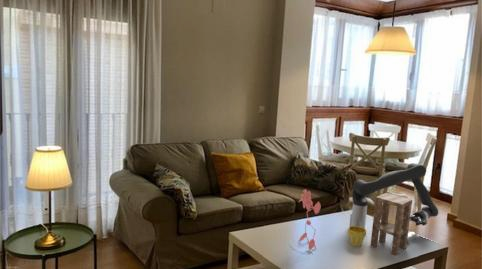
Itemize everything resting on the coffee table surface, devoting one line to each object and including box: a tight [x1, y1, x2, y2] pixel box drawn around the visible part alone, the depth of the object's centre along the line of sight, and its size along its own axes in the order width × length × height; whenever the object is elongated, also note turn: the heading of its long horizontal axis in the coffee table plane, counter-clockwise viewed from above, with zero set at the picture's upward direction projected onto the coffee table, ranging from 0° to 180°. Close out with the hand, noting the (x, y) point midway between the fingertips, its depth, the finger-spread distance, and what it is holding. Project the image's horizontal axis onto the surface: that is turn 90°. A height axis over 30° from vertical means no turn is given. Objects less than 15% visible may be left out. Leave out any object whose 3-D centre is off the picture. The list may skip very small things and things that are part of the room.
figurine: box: [298, 189, 322, 255], centre depth 228 cm, size 15×26×35 cm, turn 18°
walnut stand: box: [369, 192, 413, 256], centre depth 233 cm, size 16×14×31 cm
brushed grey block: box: [406, 231, 418, 246], centre depth 249 cm, size 20×6×3 cm, turn 135°
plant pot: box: [347, 226, 367, 247], centre depth 237 cm, size 10×10×10 cm
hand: (410, 222), depth 248 cm, fingers open, 7 cm apart
